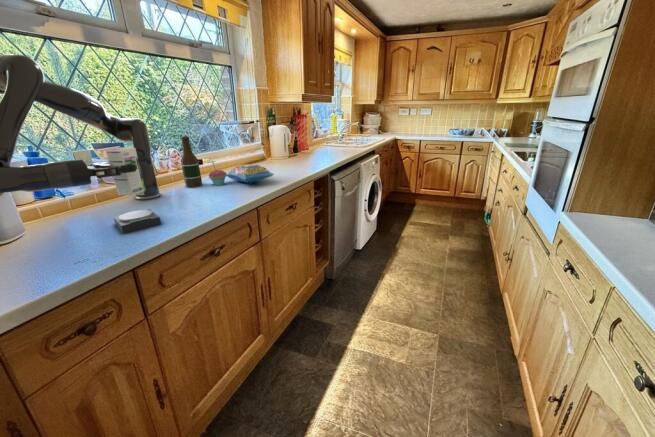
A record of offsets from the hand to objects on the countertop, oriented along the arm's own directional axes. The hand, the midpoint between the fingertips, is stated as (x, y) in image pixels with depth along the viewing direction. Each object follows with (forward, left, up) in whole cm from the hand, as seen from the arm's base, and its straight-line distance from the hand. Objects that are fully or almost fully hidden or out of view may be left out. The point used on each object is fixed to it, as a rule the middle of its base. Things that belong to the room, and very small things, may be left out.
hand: (132, 166), depth 97 cm
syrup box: (0, -2, -9) cm, 9 cm away
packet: (-24, +54, -19) cm, 62 cm away
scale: (+1, -3, -19) cm, 19 cm away
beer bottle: (-40, +31, -19) cm, 54 cm away
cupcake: (-33, +41, -19) cm, 56 cm away
